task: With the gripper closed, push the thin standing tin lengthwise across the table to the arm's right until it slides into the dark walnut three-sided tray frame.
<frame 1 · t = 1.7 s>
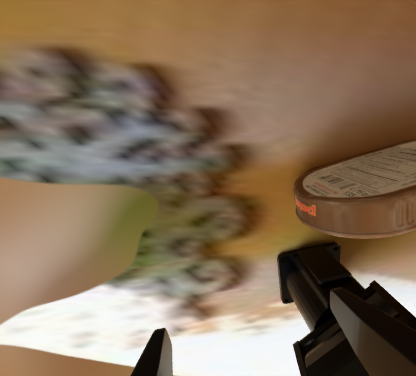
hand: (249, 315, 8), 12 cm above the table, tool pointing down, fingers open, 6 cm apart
tin: (354, 164, 20), on the table
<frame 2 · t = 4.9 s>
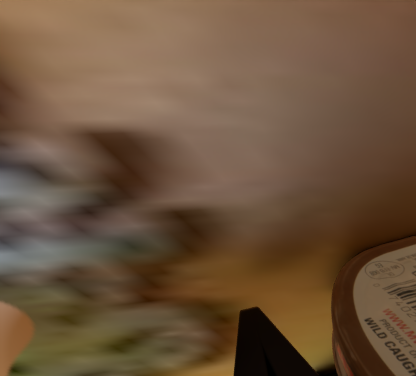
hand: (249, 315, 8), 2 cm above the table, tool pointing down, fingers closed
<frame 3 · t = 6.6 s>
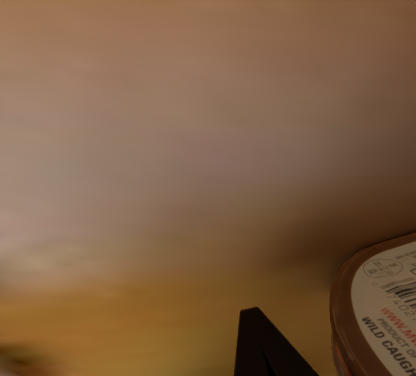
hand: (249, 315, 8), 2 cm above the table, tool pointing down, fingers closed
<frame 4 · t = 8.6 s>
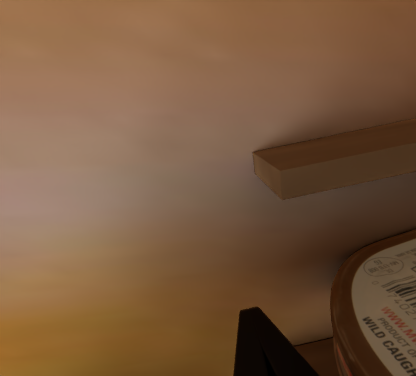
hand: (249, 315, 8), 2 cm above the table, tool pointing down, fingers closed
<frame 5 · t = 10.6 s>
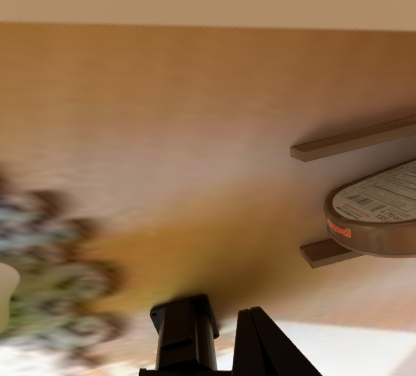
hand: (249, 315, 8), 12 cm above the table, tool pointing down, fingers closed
tin: (377, 179, 21), resting in tray frame
tray frame: (374, 185, 21), on the table
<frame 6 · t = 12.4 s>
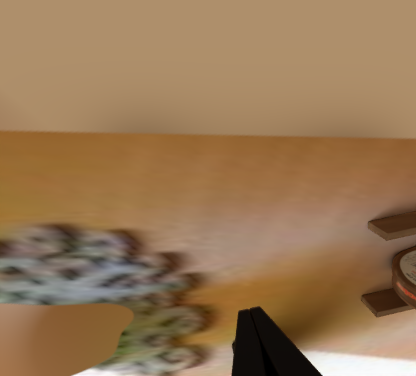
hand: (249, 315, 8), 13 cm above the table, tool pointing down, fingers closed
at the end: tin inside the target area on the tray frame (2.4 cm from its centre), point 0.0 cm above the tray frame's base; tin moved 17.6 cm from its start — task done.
